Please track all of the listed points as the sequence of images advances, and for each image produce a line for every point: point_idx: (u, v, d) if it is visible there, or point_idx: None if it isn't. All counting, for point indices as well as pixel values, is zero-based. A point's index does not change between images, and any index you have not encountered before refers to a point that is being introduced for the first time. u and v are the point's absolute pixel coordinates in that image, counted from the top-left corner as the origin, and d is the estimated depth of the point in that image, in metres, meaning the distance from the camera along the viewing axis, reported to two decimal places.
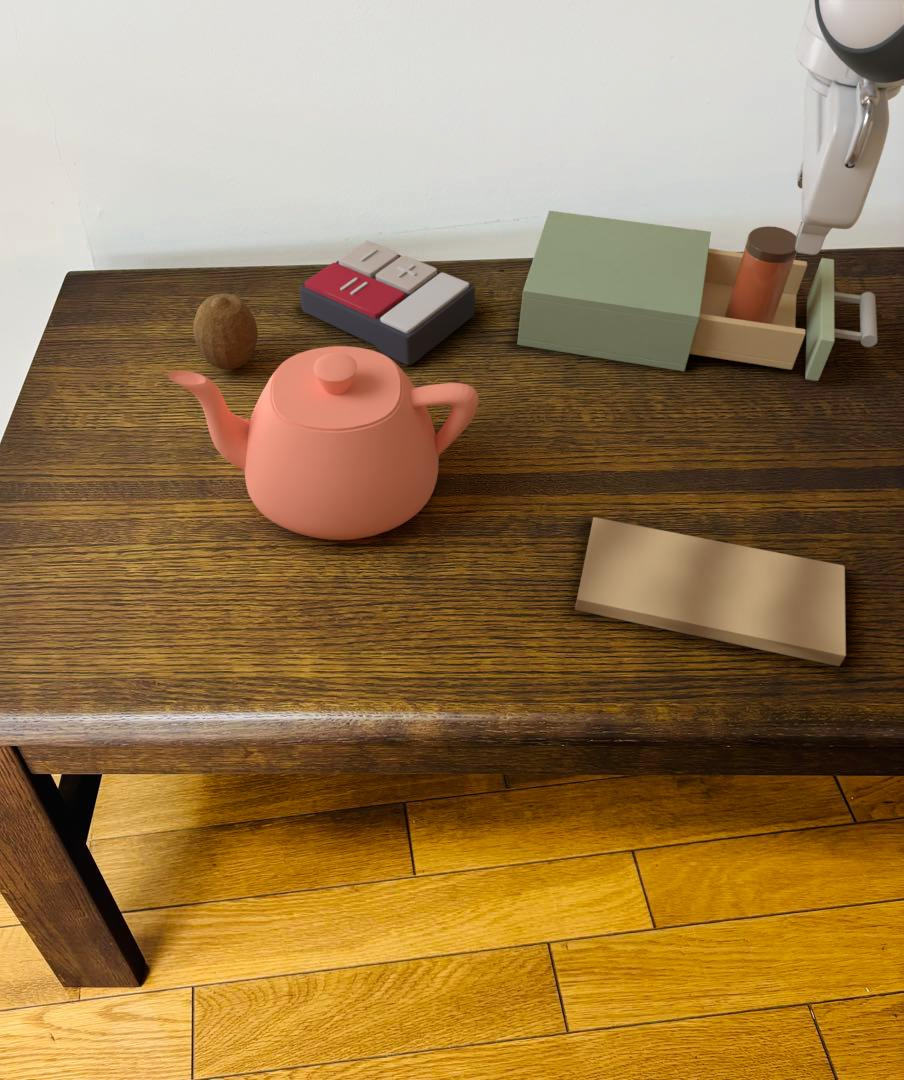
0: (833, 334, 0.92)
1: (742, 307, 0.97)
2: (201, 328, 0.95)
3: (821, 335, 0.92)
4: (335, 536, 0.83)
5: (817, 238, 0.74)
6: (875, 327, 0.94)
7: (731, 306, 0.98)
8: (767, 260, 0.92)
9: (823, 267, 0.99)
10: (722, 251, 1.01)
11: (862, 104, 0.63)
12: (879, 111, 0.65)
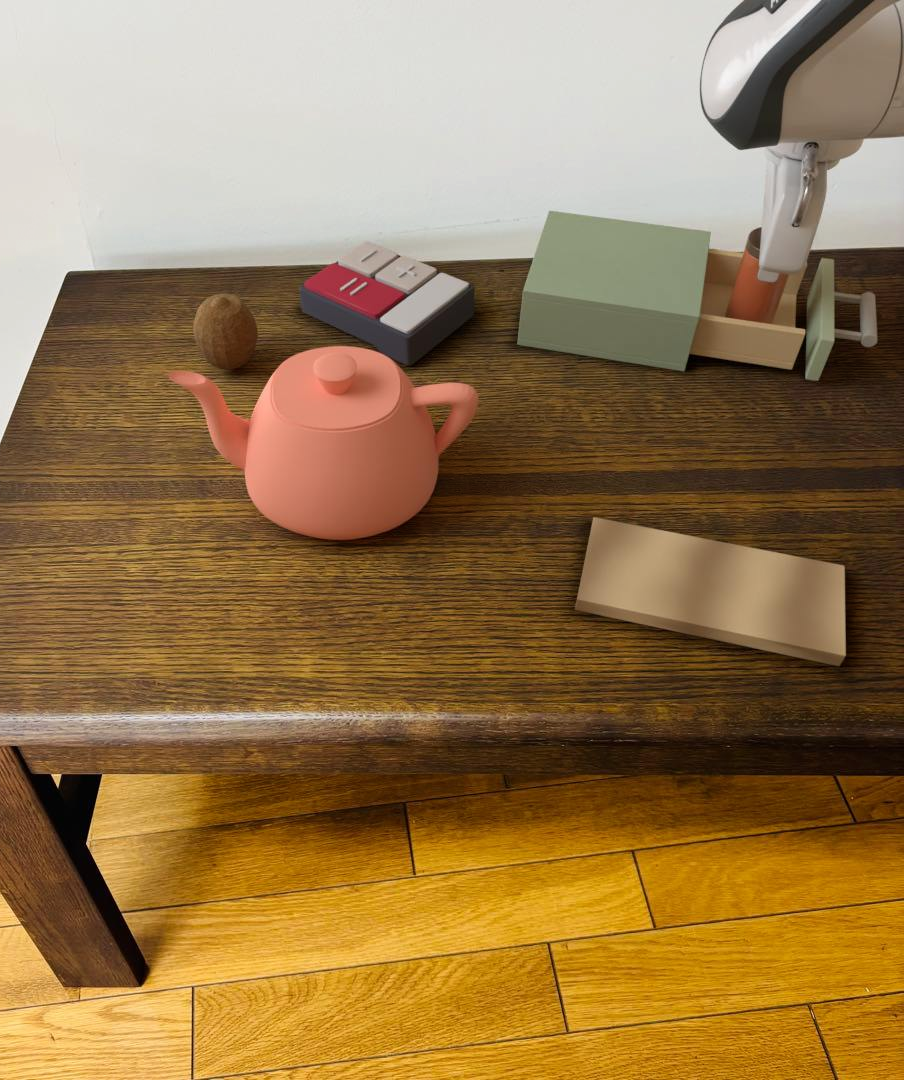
0: (833, 334, 0.92)
1: (742, 307, 0.97)
2: (201, 328, 0.95)
3: (821, 335, 0.92)
4: (335, 536, 0.83)
5: None
6: (875, 327, 0.94)
7: (731, 306, 0.98)
8: None
9: (823, 267, 0.99)
10: (722, 251, 1.01)
11: (804, 177, 0.79)
12: (818, 181, 0.81)
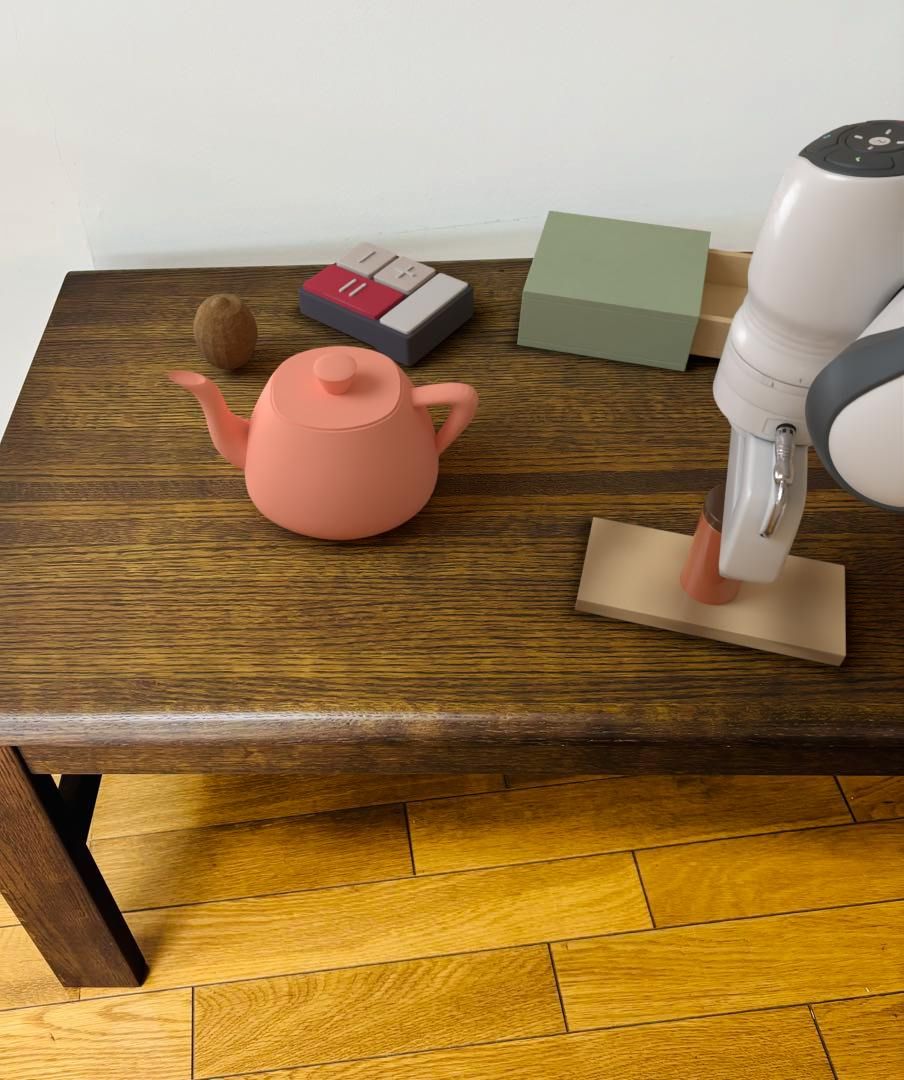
0: None
1: (700, 577, 0.76)
2: (201, 328, 0.95)
3: None
4: (335, 536, 0.83)
5: None
6: None
7: (686, 571, 0.77)
8: None
9: None
10: (722, 251, 1.01)
11: (775, 482, 0.58)
12: (795, 480, 0.60)
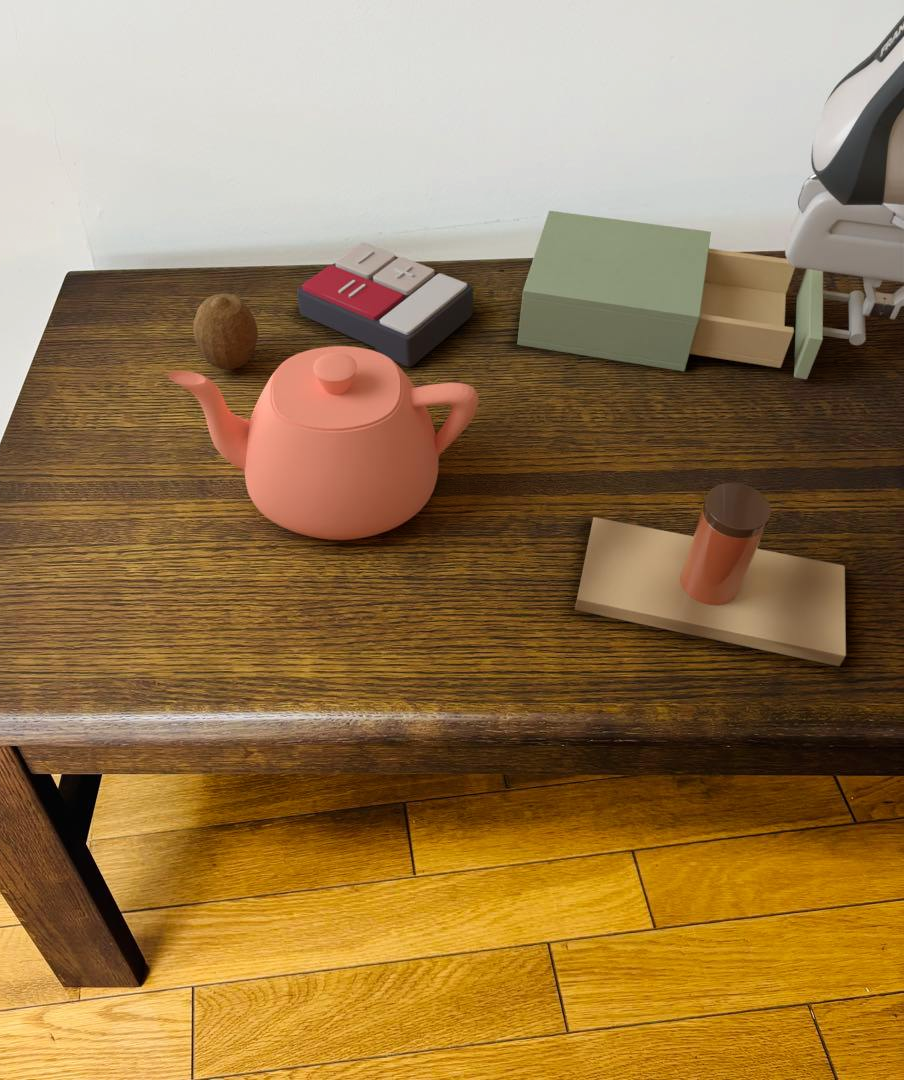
0: (821, 332, 0.92)
1: (700, 577, 0.76)
2: (201, 328, 0.95)
3: (809, 333, 0.92)
4: (335, 536, 0.83)
5: (867, 301, 0.94)
6: (863, 325, 0.94)
7: (686, 571, 0.77)
8: (729, 534, 0.71)
9: None
10: (712, 250, 1.02)
11: None
12: None
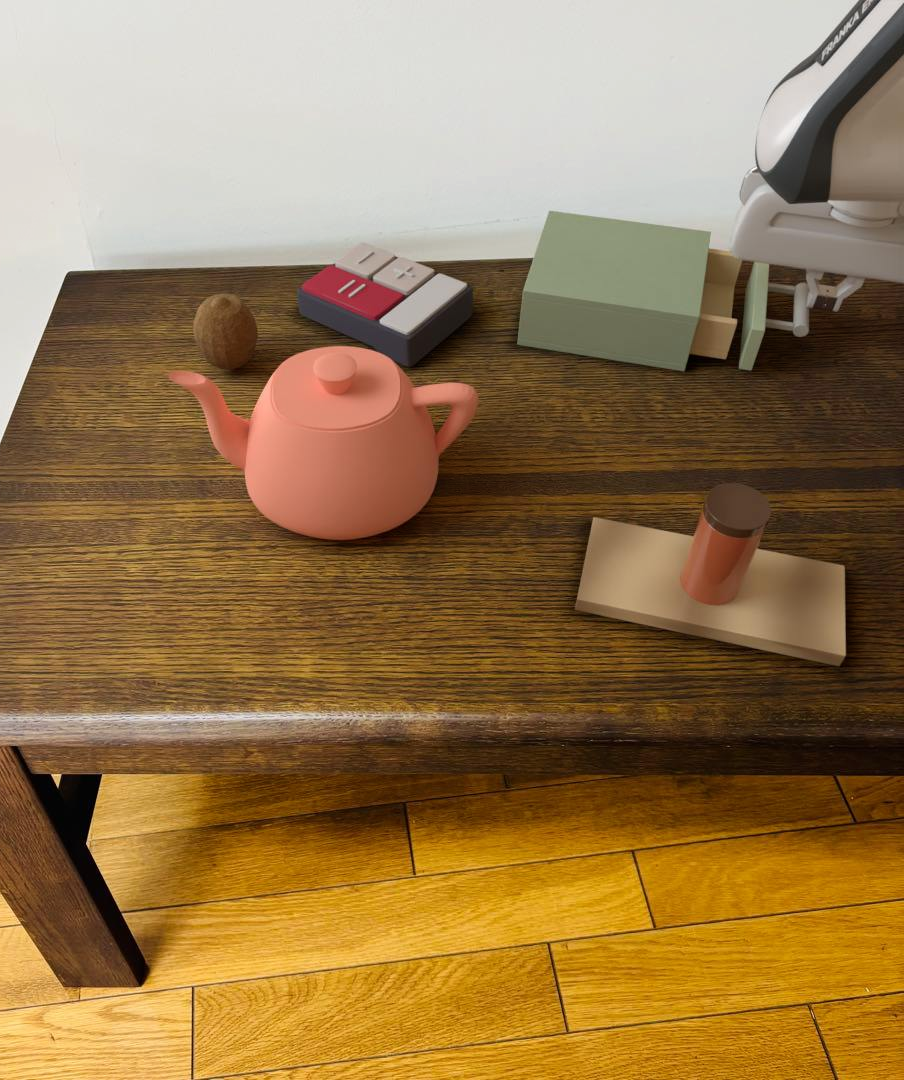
0: (764, 324, 0.93)
1: (700, 577, 0.76)
2: (201, 328, 0.95)
3: (752, 325, 0.93)
4: (335, 536, 0.83)
5: (811, 294, 0.95)
6: (807, 317, 0.96)
7: (686, 571, 0.77)
8: (729, 534, 0.71)
9: None
10: None
11: None
12: None
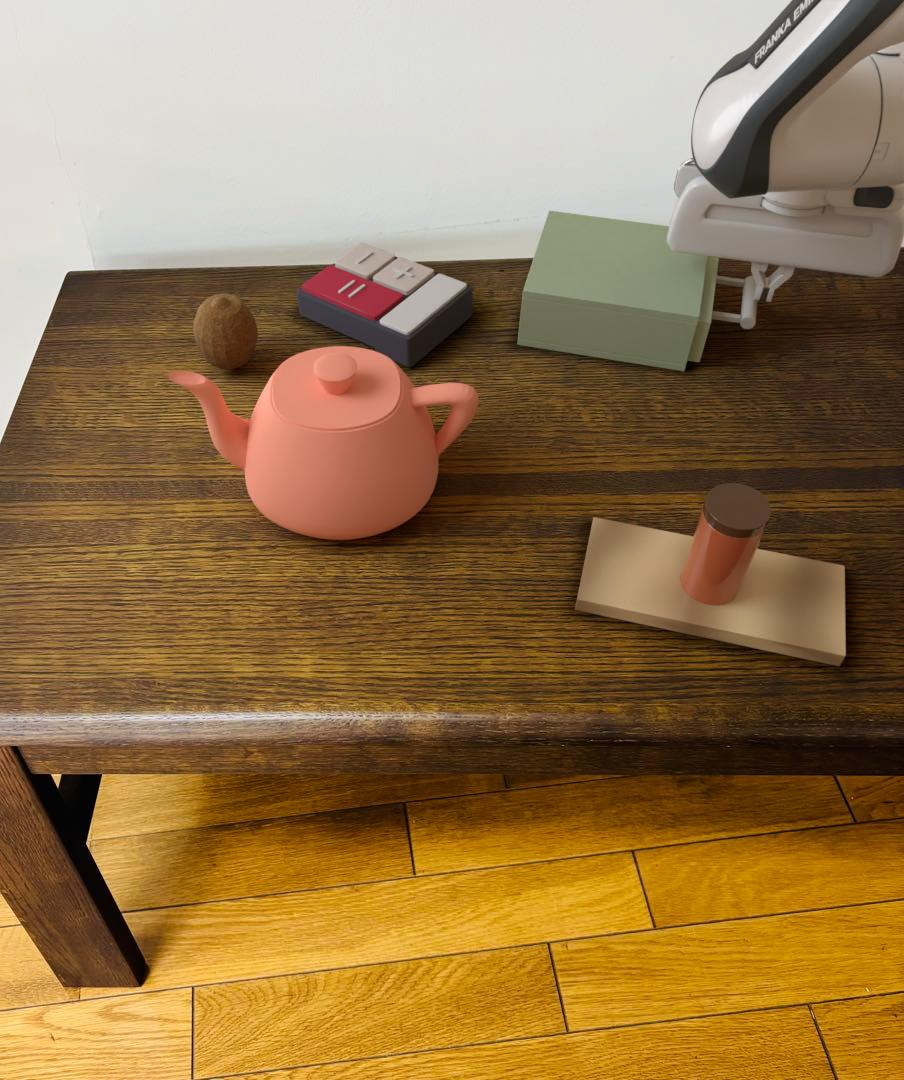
0: (710, 316, 0.94)
1: (700, 577, 0.76)
2: (201, 328, 0.95)
3: None
4: (335, 536, 0.83)
5: (757, 286, 0.97)
6: (754, 309, 0.97)
7: (686, 571, 0.77)
8: (729, 534, 0.71)
9: None
10: None
11: None
12: None
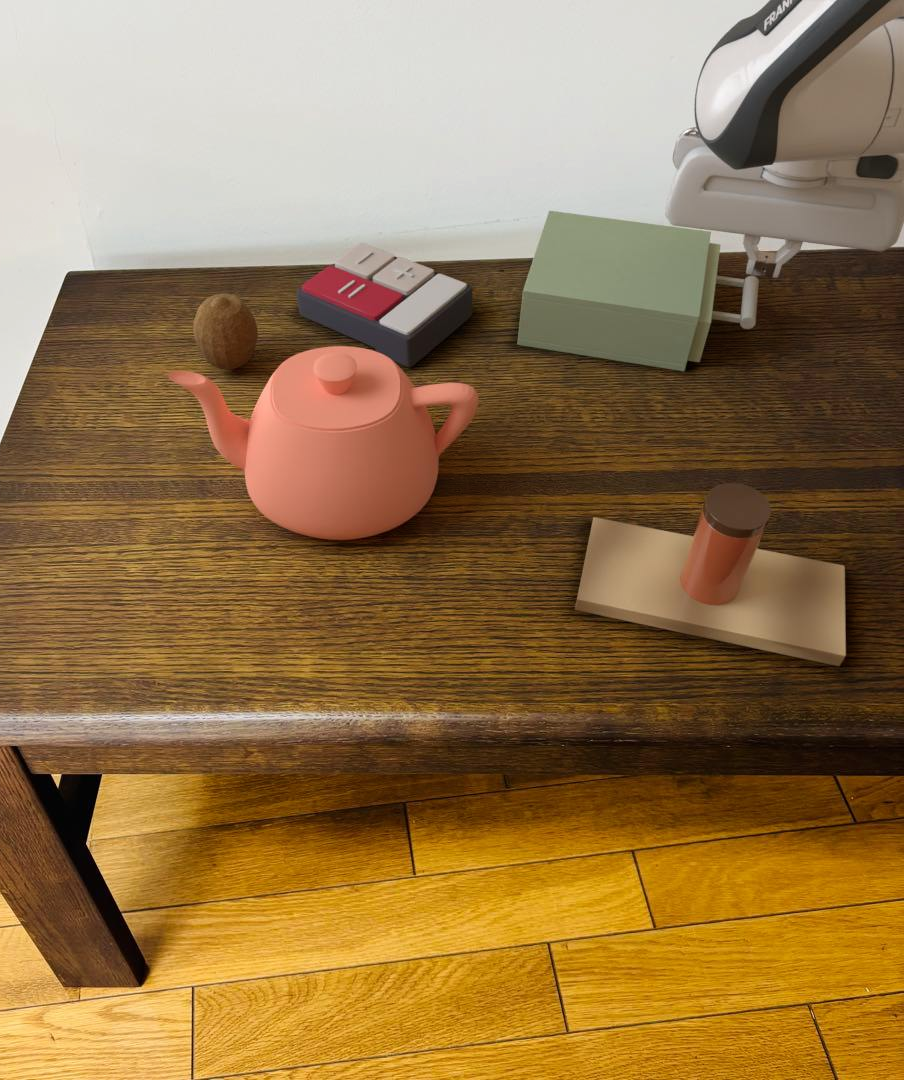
0: (710, 316, 0.94)
1: (700, 577, 0.76)
2: (201, 328, 0.95)
3: None
4: (335, 536, 0.83)
5: (749, 260, 0.95)
6: (754, 309, 0.97)
7: (686, 571, 0.77)
8: (729, 534, 0.71)
9: (709, 252, 1.01)
10: None
11: (697, 128, 0.88)
12: (712, 150, 0.87)
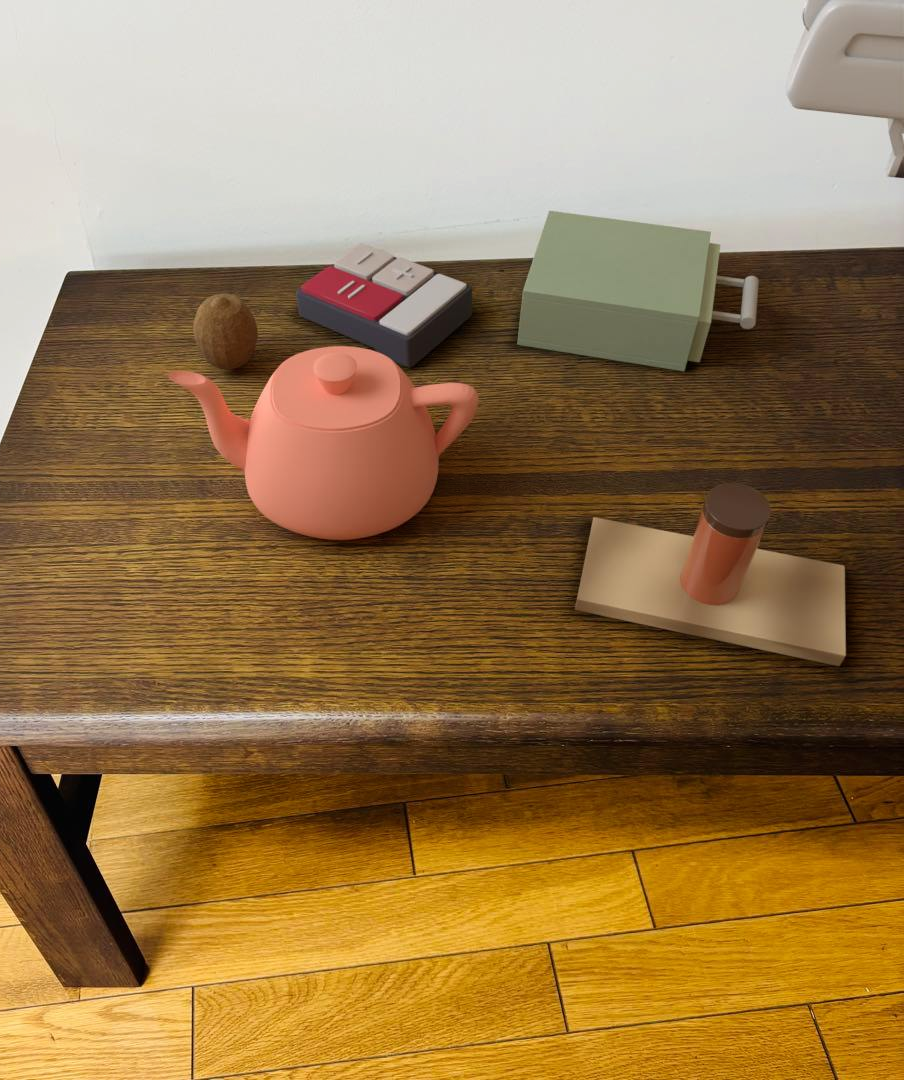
0: (710, 316, 0.94)
1: (700, 577, 0.76)
2: (201, 328, 0.95)
3: None
4: (335, 536, 0.83)
5: (893, 157, 0.72)
6: (754, 309, 0.97)
7: (686, 571, 0.77)
8: (729, 534, 0.71)
9: (709, 252, 1.01)
10: None
11: None
12: None
